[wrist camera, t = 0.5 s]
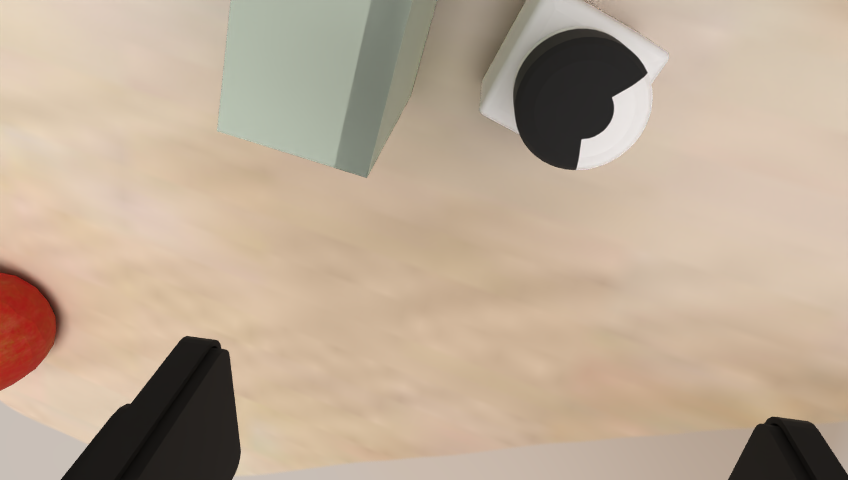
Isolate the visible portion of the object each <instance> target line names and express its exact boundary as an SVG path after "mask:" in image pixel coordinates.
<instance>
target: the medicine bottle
mask: <svg viewBox="0 0 848 480" xmlns="http://www.w3.org/2000/svg"><path fill="white" fill-rule="evenodd" d="M668 59H669V53H668V52H667V51H666V50H664V49H663V48H661V47H660V46H658V45H657V44H655V43H654V42H652V41H651V40H649V39H648V38H646V37H645V36H643V35H641V34H640V33H638V32H637V31H635V30H633V29H632V28H630V27H628V26H626V25H625V24H623V23H621V22H620V21H618V20H616V19H614V18H613V17H611V16H609V15H607V14H606V13H604V12H602V11H600V10H599V9H597V8H595V7H594V6H592V5H590V4H588V3H587V2H585V1H583V0H526V1H525V3H524V5H523V7H522V9H521V10H520V12H519V14H518V16H517V18H516V19H515V21H514V23H513V25H512V27H511V29H510V30H509V32H508V34H507V36H506V38H505V40H504V41H503V43H502V45H501V47H500V49H499V51H498V52H497V54H496V56H495V58H494V60H493V61H492V63H491V65H490V67H489V69H488V71H487V72H486V74H485V76H484V78H483V80H482V86H481V97H480V108H479V110H480V113H481V114H482V115H484V116H485V117H487V118H489V119H491V120H493V121H495V122H497V123H499V124H500V125H502V126H504V127H506V128H508V129H510V130H512V131H514V132H515V133H517V134H519V135H520V136H521V138H522V140H523V142H524V143H525V145H526V146H527V147H528V149H529V150H530V151H531V152H532V153H533V154H534V155H535V156H537V157H538V158H539V159H541V160H542V161H544V162H546V163H548V164H550V165H552V166H555V167H558V168H563V169H569V170H585V169H586V170H589V169H591V168H595V167H599V166H602V165H604V164H607V163H609V162H611V161H613V160H614V159H616V158H618V157H619V156H621V155H622V154H623V153H625V152H626V151H627V150H628V149H629V148H630V147H631V146H632V145H633V144H634V143H635V142H636V141H637V139H638V138H639V137H640V135H641V134H642V132H643V130H644V128H645V126H646V124H647V122H648V119H649V116H650V113H651V108H652V101H653V98H652V86H651V84H652V83H653V81H654V80H655V78H656V77H657V76H658V74H659V73H660V71H661V70H662V69H663V67H664V66H665V64H666V63H667V61H668Z"/></svg>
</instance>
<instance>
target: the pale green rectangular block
mask: <svg viewBox="0 0 848 480" xmlns="http://www.w3.org/2000/svg"><path fill="white" fill-rule="evenodd" d="M436 3H437V0H231V2H230V12H229V21H228V31H227V41H226V50H225V60H224V69H223V79H222V89H221V98H220V108H219V117H218V127H217V131H218V132H222V133H225V134H228V135H231V136H234V137H238V138H241V139H244V140H247V141H250V142H253V143H257V144H260V145H263V146H266V147H269V148H273V149H276V150H279V151H282V152H285V153H289V154H292V155H295V156H298V157H301V158H305V159H308V160H311V161H314V162H317V163H321V164H324V165H327V166H330V167H333V168H337V169H340V170H343V171H346V172H349V173H353V174H356V175H359V176H362V177H365V178H367V177H368V175H369V173H370V171H371V169H372V167H373V166H374V164H375V162H376V160H377V158H378V156H379V154H380V152H381V151H382V149H383V147H384V145H385V143H386V141H387V139H388V137H389V136H390V134H391V132H392V130H393V128H394V126H395V124H396V122H397V121H398V119H399V117H400V115H401V113H402V111H403V109H404V107H405V106H406V104H407V102H408V100H409V98H410V96H411V93H412V89H413V86H414V82H415V78H416V75H417V71H418V68H419V64H420V60H421V57H422V53H423V50H424V46H425V42H426V39H427V35H428V32H429V28H430V24H431V21H432V17H433V13H434V10H435V6H436Z"/></svg>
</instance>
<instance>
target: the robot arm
mask: <svg viewBox="0 0 848 480" xmlns="http://www.w3.org/2000/svg"><path fill="white" fill-rule="evenodd" d="M240 454H241V449H240V440H239V432H238V423H237V415H236V406H235V398H234V389H233V381H232V372H231V364H230V356H229V352H228V350H225V349H221V345H220V343H219V341H217V340H212V339H205V338H198V337H190V336H186V337H183V338H182V339H181V340H180V341H179V343H178V344H177V345H176V347H175V348H174V349H173V350H172V352H171V353H170V354H169V356H168V357H167V358H166V359H165V361H164V362H163V363H162V364H161V366H160V367H159V368H158V370H157V371H156V372H155V373H154V375H153V376H152V377H151V379H150V380H149V381H148V382H147V384H146V385H145V386H144V388H143V389H142V390H141V391H140V393H139V394H138V395H137V396H136V398H135V399H134V400H133V402H132V403H131V404H126V405H124V406H122V407H120V408H119V409H118V410H117V411H116V412H115V413H114V414H113V415H112V416H111V418H110V419H109V420H108V421H107V423H106V424H105V425H104V426H103V428H102V429H101V430H100V431H99V433H98V434H97V435H96V436H95V438H94V439H93V440H92V441H91V443H90V444H89V445H88V446H87V448H86V449H85V450H84V451H83V453H82V454H81V455H80V456H79V458H78V459H77V460H76V461H75V463H74V464H73V465H72V466H71V468H70V469H69V470H68V471H67V472H66V474H65V475H64V476H63V477H62V479H61V480H232V479H233V477H234V475H235V472H236V470H237V468H238V464H239V460H240ZM728 480H848V475H847V473H846V472H845V470H844V469H843V467H842V466H841V464H840V463H839V461H838V459H837V458H836V456H835V455H834V453H833V452H832V450H831V449H830V447H829V446H828V444H827V443H826V441H825V440H824V438H823V436H822V435H821V433H820V432H819V430H818V429H817V428H816V427H815V425H814V424H812V423H810V422H809V421H802V420H794V419H787V418H780V417H771V418H769V419H767V421H766V422H765V423H764V424H759V425H757V426H756V427H755V429H754V431H753V433H752V435H751V437H750V438H749V440H748V443H747V444H746V446H745V448H744V450H743V452H742V454H741V456H740V458H739V460H738V462H737V464H736V465H735V468H734V469H733V471H732V473H731V475H730V477H729V479H728Z"/></svg>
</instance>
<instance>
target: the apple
mask: <svg viewBox="0 0 848 480" xmlns="http://www.w3.org/2000/svg"><path fill="white" fill-rule="evenodd" d="M55 334H56V318H55V315H54V313H53V311H52V309H51V307H50V305H49V303H48V301H47V300H46V299H45V297H44V296H43V295H42V294H41V293H40V292H39V290H38V289H37V288H36V287H34V286H33V285H31V284H29V283H27V282H26V281H24V280H22V279H21V278H19V277H17V276H14V275H9V274H5V273H0V391H1V390H3V389H5V388H7V387H9V386H11V385H12V384H14V383H16V382H17V381H19V380H20V379H22V378H23V377H25V376H26V375H27V374H29V373H30V372H32V371H33V370H34V369H36V367H37V366H38V365H39V364H40V363H41V362H42V361H43V359H44V358H45V357H46V355H47V354H48V352H49V351H50V349H51V347H52V346H53V344H54V339H55Z"/></svg>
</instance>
